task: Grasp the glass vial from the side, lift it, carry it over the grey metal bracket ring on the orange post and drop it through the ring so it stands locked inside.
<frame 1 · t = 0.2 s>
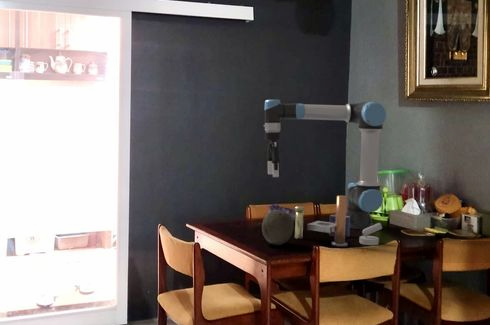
hand: (273, 175, 288), 27 cm above the table, fingers open, 13 cm apart
rosette bracket: (323, 242, 269), on the table
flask: (338, 236, 286), on the table
geode: (279, 221, 319), on the table
glass vial: (298, 237, 278), on the table
wall hook: (370, 243, 271), on the table
cantaloupe: (277, 244, 262), on the table
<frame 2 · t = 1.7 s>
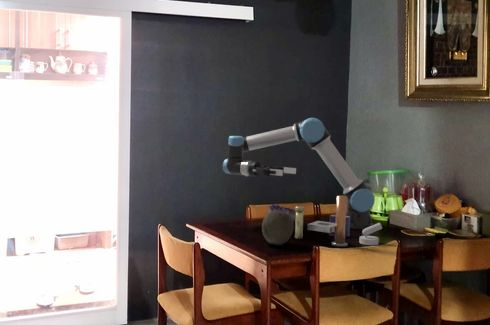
hand: (289, 172, 285), 30 cm above the table, fingers open, 13 cm apart
nothing on the table moved.
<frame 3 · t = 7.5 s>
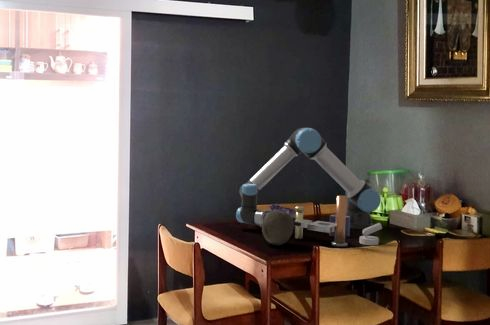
hand: (309, 224, 275), 7 cm above the table, fingers closed on glass vial, 3 cm apart
glass vial: (298, 237, 278), on the table, touching gripper
everything else where it was.
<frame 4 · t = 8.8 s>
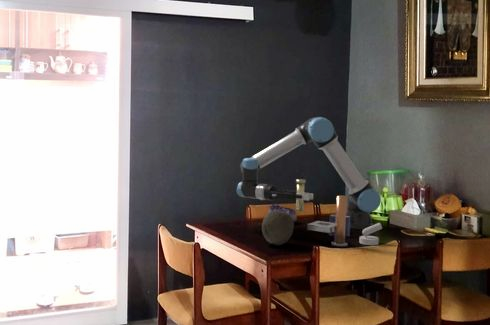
hand: (310, 197, 273), 20 cm above the table, fingers closed on glass vial, 3 cm apart
glass vial: (299, 210, 277), point 13 cm above the table, touching gripper
everything else where it was.
when the fingers open (17 cm above the table, at t = 10.4 s): glass vial drops 10 cm, on the table.
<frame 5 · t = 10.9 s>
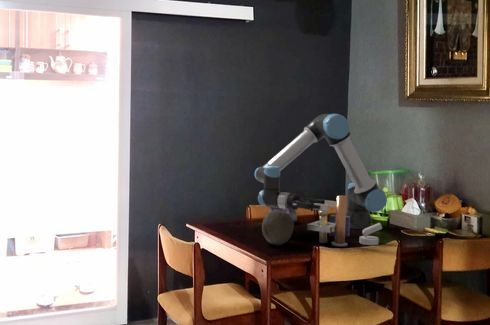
hand: (332, 206, 266), 17 cm above the table, fingers open, 11 cm apart
glass vial: (323, 242, 270), on the table
everything else where it was.
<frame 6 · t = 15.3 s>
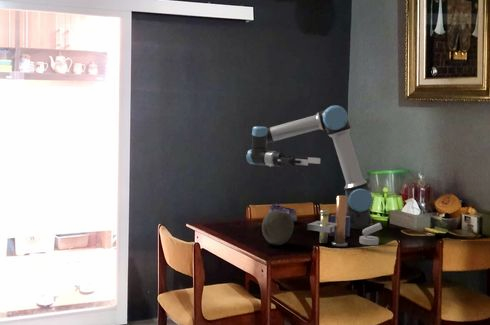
hand: (314, 161, 286), 35 cm above the table, fingers open, 13 cm apart
at the end: glass vial 0.2 cm off-centre on the rosette bracket, point 0.0 cm above the rosette bracket's base; the gripper is holding nothing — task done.
